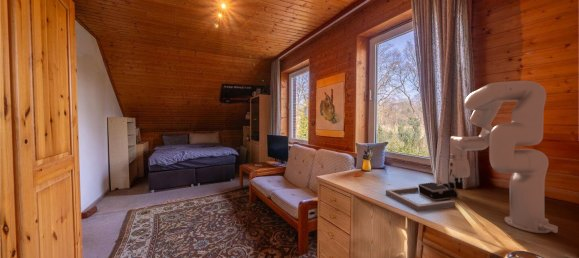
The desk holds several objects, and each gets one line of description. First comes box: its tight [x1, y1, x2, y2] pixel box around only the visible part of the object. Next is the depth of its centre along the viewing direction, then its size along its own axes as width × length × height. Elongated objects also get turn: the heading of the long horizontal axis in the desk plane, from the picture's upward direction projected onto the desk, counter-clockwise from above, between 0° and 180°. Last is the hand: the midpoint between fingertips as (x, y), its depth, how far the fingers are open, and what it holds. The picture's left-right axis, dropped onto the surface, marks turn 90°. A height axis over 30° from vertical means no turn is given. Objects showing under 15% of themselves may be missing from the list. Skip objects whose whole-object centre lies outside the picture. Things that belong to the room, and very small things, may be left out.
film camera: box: [417, 181, 460, 202], centre depth 123 cm, size 8×16×15 cm
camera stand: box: [385, 186, 456, 212], centre depth 119 cm, size 26×21×2 cm
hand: (459, 188), depth 124 cm, fingers closed
